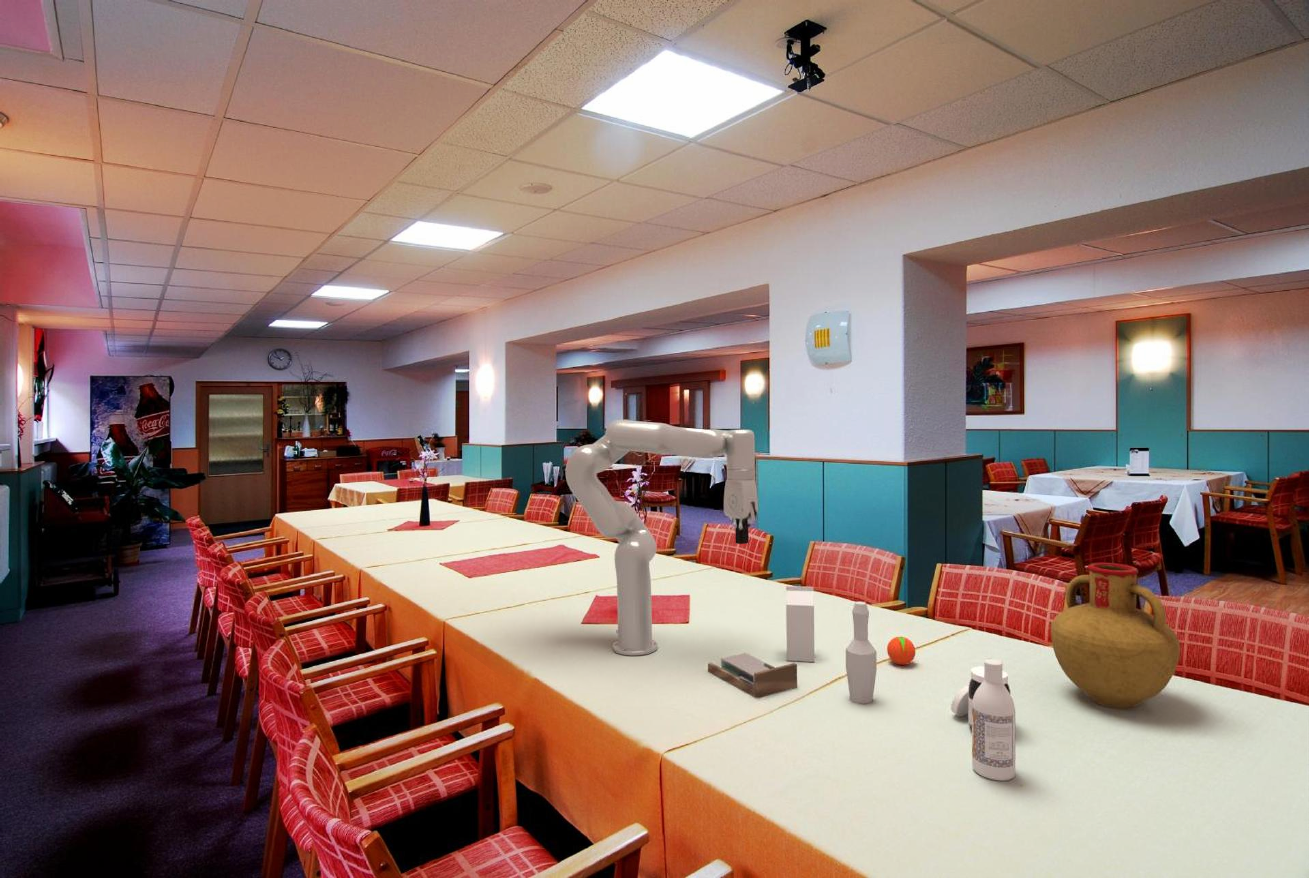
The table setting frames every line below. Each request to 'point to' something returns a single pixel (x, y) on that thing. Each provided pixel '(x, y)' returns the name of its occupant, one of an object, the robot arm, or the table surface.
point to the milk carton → (800, 623)
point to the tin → (737, 662)
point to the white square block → (751, 670)
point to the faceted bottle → (861, 658)
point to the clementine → (901, 650)
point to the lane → (761, 679)
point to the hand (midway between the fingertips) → (742, 543)
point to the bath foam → (993, 726)
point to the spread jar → (972, 693)
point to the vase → (1114, 639)
